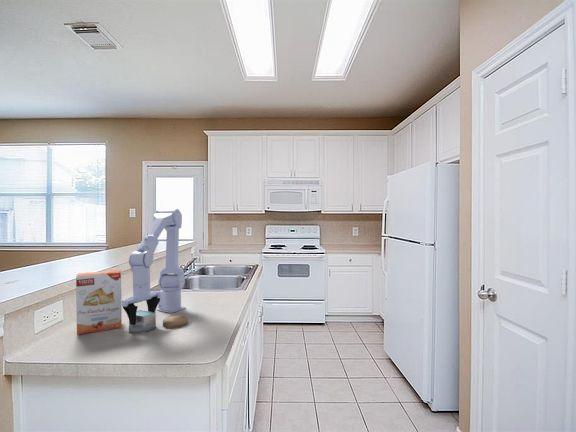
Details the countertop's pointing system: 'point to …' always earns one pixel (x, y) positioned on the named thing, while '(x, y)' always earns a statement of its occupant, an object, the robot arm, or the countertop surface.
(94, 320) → the cracker box
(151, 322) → the white and teal box
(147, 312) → the cover plate
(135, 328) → the grey stand
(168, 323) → the walnut stand
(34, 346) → the countertop surface
